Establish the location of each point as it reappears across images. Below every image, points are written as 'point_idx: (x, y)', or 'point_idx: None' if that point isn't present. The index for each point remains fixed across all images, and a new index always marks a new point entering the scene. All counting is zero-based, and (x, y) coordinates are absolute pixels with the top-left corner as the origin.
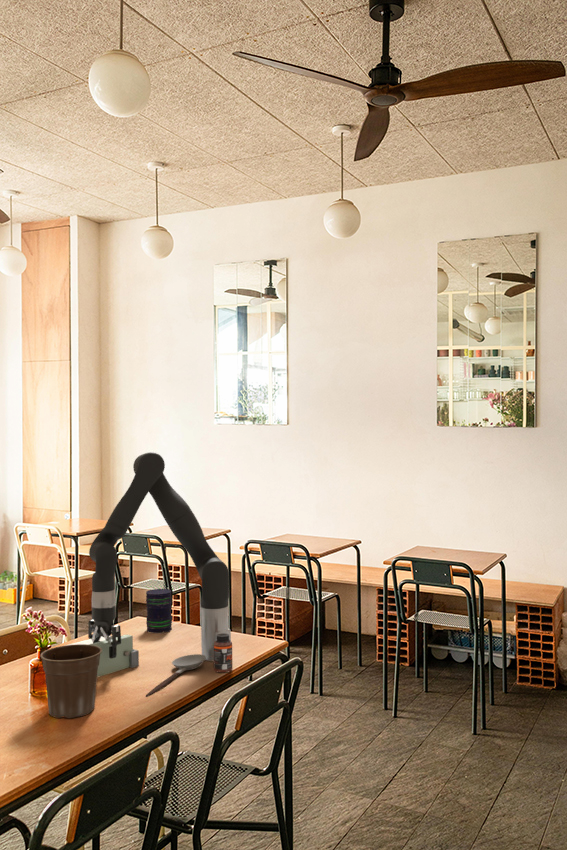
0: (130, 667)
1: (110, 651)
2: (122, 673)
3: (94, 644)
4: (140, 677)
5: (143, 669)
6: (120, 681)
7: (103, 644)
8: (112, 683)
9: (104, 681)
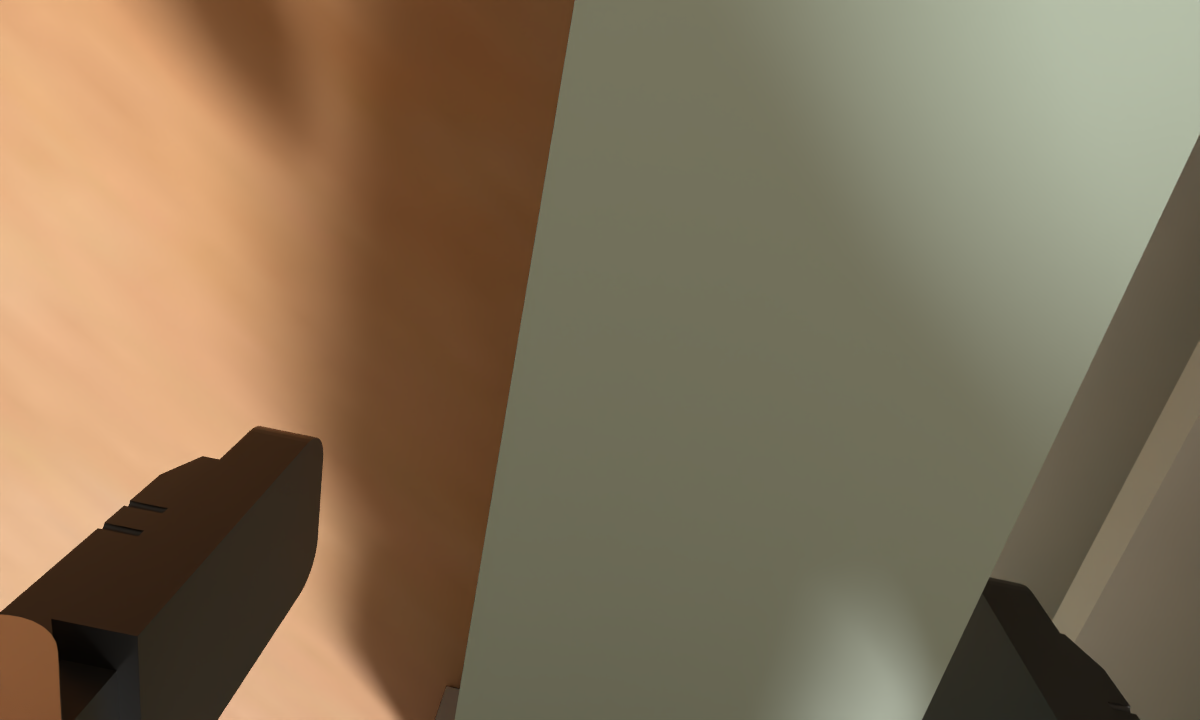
0: None
1: (158, 520)
2: (381, 476)
3: (750, 508)
4: (17, 444)
5: (270, 694)
6: (89, 173)
7: (465, 713)
8: (106, 23)
9: (312, 42)
